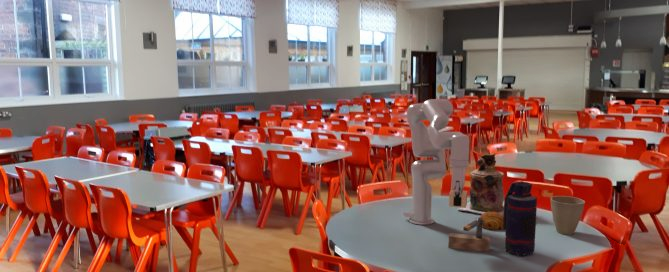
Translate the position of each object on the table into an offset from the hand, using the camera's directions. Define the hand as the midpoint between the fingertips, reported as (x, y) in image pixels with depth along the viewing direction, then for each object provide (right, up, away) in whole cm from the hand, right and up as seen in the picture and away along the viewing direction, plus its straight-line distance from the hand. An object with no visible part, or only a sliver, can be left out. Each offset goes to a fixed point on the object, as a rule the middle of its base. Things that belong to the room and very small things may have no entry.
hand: (458, 203), depth 228 cm
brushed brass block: (0, -1, 0) cm, 1 cm away
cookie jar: (+30, -12, +62) cm, 70 cm away
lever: (+5, -9, -7) cm, 12 cm away
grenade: (+25, -20, -4) cm, 32 cm away
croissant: (+25, -16, +33) cm, 44 cm away
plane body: (+5, -19, +1) cm, 20 cm away
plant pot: (+57, -17, +22) cm, 63 cm away
